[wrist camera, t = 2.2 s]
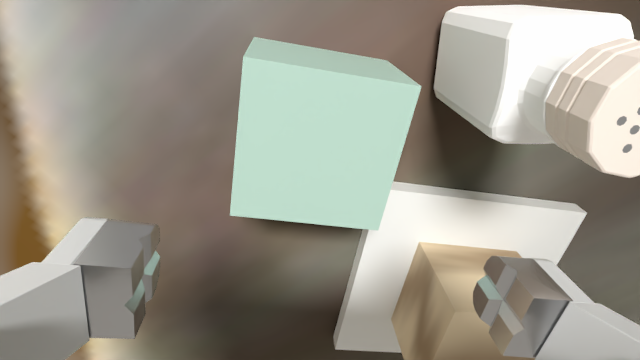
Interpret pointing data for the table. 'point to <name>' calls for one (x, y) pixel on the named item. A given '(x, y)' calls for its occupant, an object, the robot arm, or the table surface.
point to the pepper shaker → (546, 79)
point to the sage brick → (318, 135)
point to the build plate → (442, 228)
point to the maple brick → (445, 305)
